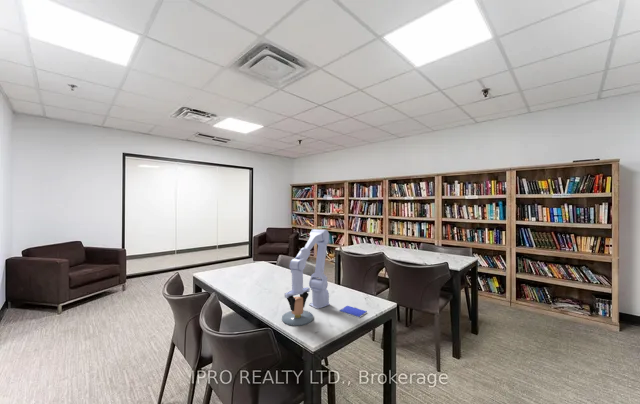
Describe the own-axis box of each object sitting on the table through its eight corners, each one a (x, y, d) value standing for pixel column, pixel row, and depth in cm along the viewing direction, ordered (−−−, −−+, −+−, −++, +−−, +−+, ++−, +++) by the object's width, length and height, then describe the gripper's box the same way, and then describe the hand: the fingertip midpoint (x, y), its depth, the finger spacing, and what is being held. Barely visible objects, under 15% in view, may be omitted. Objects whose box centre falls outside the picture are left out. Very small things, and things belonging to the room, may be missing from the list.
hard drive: (339, 310, 140) (359, 316, 132) (347, 305, 147) (367, 310, 139) (339, 312, 140) (359, 319, 132) (347, 308, 147) (367, 313, 139)
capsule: (298, 314, 135) (298, 305, 135) (302, 316, 132) (302, 306, 132) (293, 316, 133) (293, 306, 133) (297, 318, 130) (297, 308, 130)
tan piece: (298, 308, 137) (298, 295, 137) (305, 312, 132) (305, 298, 132) (289, 312, 133) (289, 298, 133) (296, 315, 128) (296, 301, 128)
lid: (301, 309, 144) (301, 307, 144) (319, 319, 132) (319, 317, 132) (276, 317, 133) (276, 315, 133) (293, 329, 121) (293, 327, 121)
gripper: (289, 287, 125) (290, 315, 125) (313, 281, 134) (313, 307, 134) (282, 283, 130) (282, 310, 130) (305, 278, 140) (305, 303, 139)
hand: (297, 308), depth 132 cm, fingers closed on tan piece, 6 cm apart
